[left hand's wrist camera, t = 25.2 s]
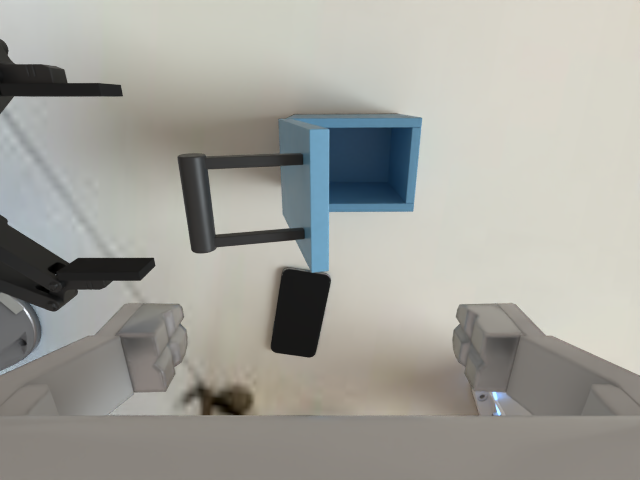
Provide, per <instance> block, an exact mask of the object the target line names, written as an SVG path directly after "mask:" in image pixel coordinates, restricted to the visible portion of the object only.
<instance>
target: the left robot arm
mask: <svg viewBox="0 0 640 480" xmlns="http://www.w3.org/2000/svg"><path fill="white" fill-rule="evenodd" d="M183 318H184V314H183V309H182V307H181V306H180V304H155V303H146V304H145V303H128V304H124V306H123V307H122V308H121V309H120V310H119V311H118V312H117V313H116V314H115V315H114V316H113V317H112V318H111V319H110V320H109V321H108V322H107V323H106V324H105V325H104V326H103V327H102V328H101V329H100V330H99V331H98V332H97V333H96V334H95V335H94V336H87V337H84V338H82V339H80V340H78V341H76V342H73V343H71V344H69V345H67V346H65V347H62V348H60V349H58V350H56V351H54V352H51V353H49V354H47V355H45V356H42V357H40V358H38V359H36V360H34V361H31V362H29V363H27V364H25V365H23V366H20V367H18V368H16V369H14V370H12V371H9V372H7V373H5V374H3V375H0V480H640V376H639V375H637V374H635V373H633V372H630V371H628V370H626V369H624V368H622V367H619V366H617V365H615V364H613V363H611V362H608V361H606V360H604V359H602V358H600V357H597V356H595V355H593V354H591V353H589V352H586V351H584V350H582V349H580V348H578V347H575V346H573V345H571V344H569V343H567V342H564V341H562V340H560V339H558V338H556V337H553V336H546V335H545V334H544V333H543V332H542V331H541V330H540V329H539V328H538V327H537V326H536V325H535V324H534V323H533V322H532V321H531V320H530V319H529V318H528V317H527V316H526V315H525V314H524V313H523V312H522V311H521V310H520V308H519V307H518V306H517V305H515V304H513V303H497V304H462V305H459V307H458V309H457V314H456V318H457V320H458V321H459V323H460V324H459V325H458V326H457V327H456V328H455V329H454V332H453V350H454V353H455V356H456V358H457V360H458V362H459V363H460V364H462V365H463V366H465V367H466V369H465V375H466V377H467V379H468V381H469V383H470V384H471V386H472V393H473V397H474V400H475V403H476V407H477V410H478V413H479V416H107V415H108V414H109V413H111V412H112V411H113V410H114V409H116V408H117V407H118V406H119V405H121V404H122V403H123V402H124V401H126V400H127V399H128V398H129V397H131V396H132V395H133V394H134V392H166V390H167V388H168V386H169V385H170V383H171V381H172V379H173V377H174V375H175V368H174V367H175V366H177V365H178V364H180V363H181V362H182V360H183V358H184V356H185V353H186V349H187V332H186V329H185V328H184V327H183V326H182V325H181V324H180V323H181V321H182V320H183Z"/></svg>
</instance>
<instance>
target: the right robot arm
mask: <svg viewBox="0 0 640 480" xmlns="http://www.w3.org/2000/svg"><path fill="white" fill-rule="evenodd" d="M14 96H123V94H122V89H121V85H114V84H102V83H67V79H66V75H65V71H64V69H61V68H59V67H56V66H49V65H42V64H33V65H32V64H27V65H26V64H14V63H13V62H12V61H11V60H10V58H9V57H8V47H7V45H6V43H5V42H4V41H3V40H1V39H0V114H1V112H2V111H3V110H4V108H5V107H6V106H7V105H8V103H9V102H10V101H11V100H12V98H13V97H14ZM7 222H8V221H7V219H6V218H4V217H3V216H1V215H0V371H1V370H3V369H5V368H8V367H10V366H12V365H14V364H16V363H18V362H19V361H21V360H23V359H24V358H25V357H26V356H28V355H29V354H30V353H31V352H32V351H33V350H34V349H35V348H36V347H37V345H38V343H39V341H40V338H41V326H40V322H39V319H38V317H37V314H36V313H35V311H34V309H33V308H32V306H31V305H30V304H29V303H31V304H33V305H36V306H39V307H41V308H44V309H47V310H49V311H57V310H59V309H60V308H61V307H62V306H64V305H65V304H66V303H67V302H69V301H70V300H71V299H72V298H74V297H75V296H76V295H77V294H78V290H77V289H102V288H105V287H106V286H107V285H109V284H110V283H111V282H112V281H141V280H142V279H143V278H144V277H145V276H146V275H147V274H148V273H149V272H150V271H151V270H152V269H153V268H154V267H155V262H154V258H77V259H76V260H74V261H73V262H71V263H68V262H66V261H65V260H63V259H62V258H60V257H58V256H57V255H55V254H54V253H52V252H50V251H49V250H47V249H46V248H44V247H42V246H41V245H39V244H38V243H36V242H35V241H33V240H31V239H30V238H28V237H27V236H25V235H23V234H22V233H20V232H19V231H17V230H15V229H14V228H12V227H11V226H9V225H8V224H7ZM55 274H57V275H55Z"/></svg>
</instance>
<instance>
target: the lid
mask: <svg viewBox="0 0 640 480" xmlns="http://www.w3.org/2000/svg"><path fill="white" fill-rule="evenodd" d="M278 120H279V142H280V154H259V155H232V156H206V155H205V154H198V153H194V154H182V155H179V156H178V164H179V170H180V177H181V184H182V190H183V197H184V204H185V210H186V217H187V224H188V230H189V237H190V244H191V250H192V251H193V252H195V253H208V252H211V251H214V250H215V249H216V248H217V247H224V246H235V245H246V244H256V243H267V242H278V241H289V240H296V242H297V244H298V246H299V248H300V250H301V252H302V254H303V256H304V258H305V260H306V262H307V264H308V266H309V268H310V270H311V273H314V272H323V271H328V270H329V129H328V128H324V127H320V126H316V125H313V124H309V123H305V122H301V121H298V120H294V119H278ZM269 166H281V187H282V209H283V216H284V218H285V220H286V222H287V224H288V226H289V229H277V230H265V231H254V232H242V233H230V234H218V235H215V227H214V219H213V210H212V202H211V194H210V186H209V177H208V169H225V168H247V167H269Z"/></svg>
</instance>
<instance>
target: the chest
mask: <svg viewBox="0 0 640 480" xmlns="http://www.w3.org/2000/svg"><path fill="white" fill-rule="evenodd" d="M286 119H294V120H298V121H301V122H305V123H309V124H313V125H316V126H320V127H324V128H328V129H329V212H410V211H413V209H414V198H415V187H416V177H417V167H418V156H419V146H420V135H421V125H422V118H420V117H414V116H408V115H402V114H293V115H292V116H290V117H288V118H286Z"/></svg>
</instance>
